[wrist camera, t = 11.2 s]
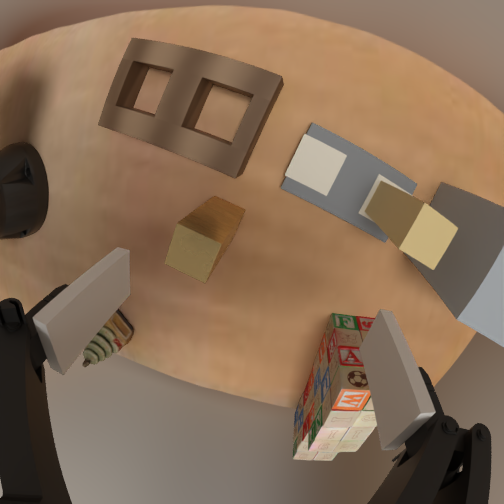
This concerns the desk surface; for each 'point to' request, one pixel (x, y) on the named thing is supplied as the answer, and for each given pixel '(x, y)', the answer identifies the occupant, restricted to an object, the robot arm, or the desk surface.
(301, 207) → the desk surface
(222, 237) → the brass pin
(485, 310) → the block
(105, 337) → the ornament
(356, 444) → the stack of blocks
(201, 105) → the socket board
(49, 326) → the robot arm
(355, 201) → the board
